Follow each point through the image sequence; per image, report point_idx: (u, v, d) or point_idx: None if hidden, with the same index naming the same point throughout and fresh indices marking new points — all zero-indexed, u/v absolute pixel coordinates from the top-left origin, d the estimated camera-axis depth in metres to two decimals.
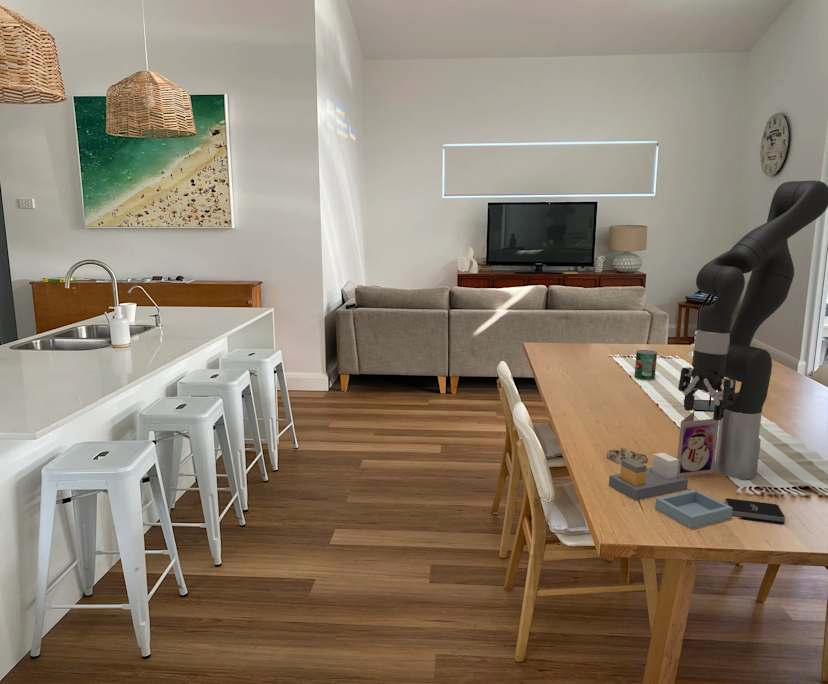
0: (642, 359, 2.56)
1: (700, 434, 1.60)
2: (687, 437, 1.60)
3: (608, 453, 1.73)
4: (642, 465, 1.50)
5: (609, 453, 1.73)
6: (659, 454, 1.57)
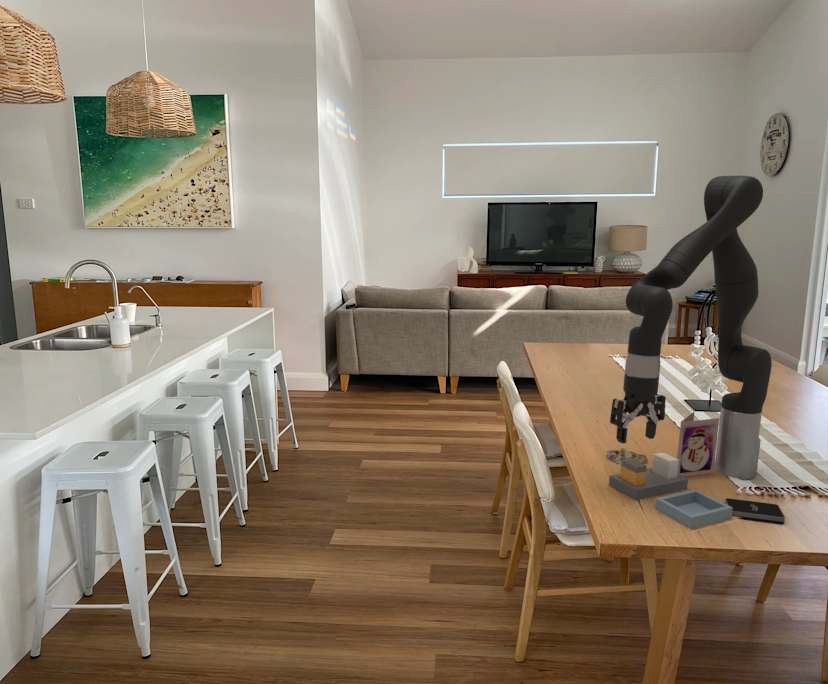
0: None
1: (700, 434, 1.60)
2: (687, 437, 1.60)
3: (608, 453, 1.73)
4: (642, 465, 1.50)
5: (609, 454, 1.72)
6: (659, 454, 1.57)
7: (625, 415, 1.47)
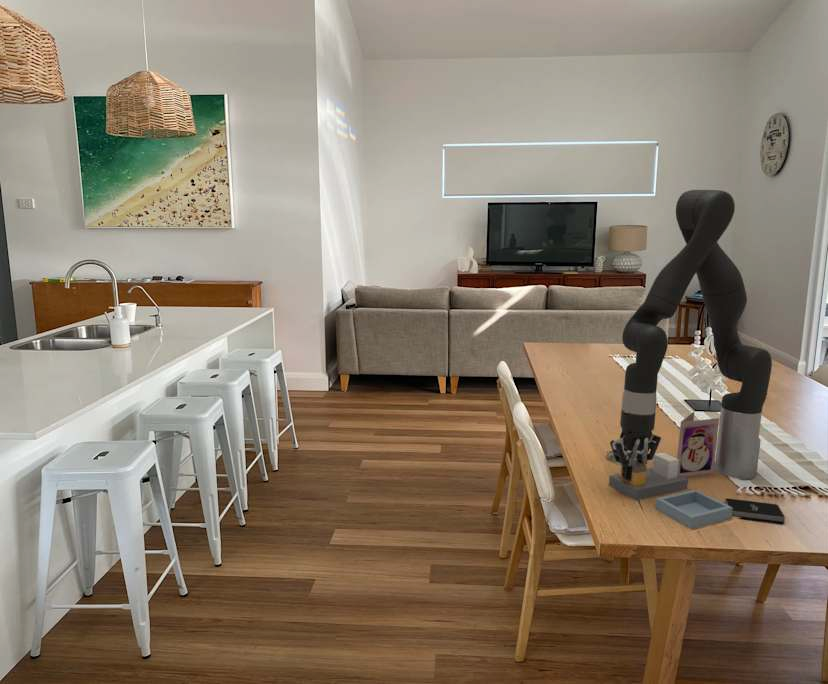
0: None
1: (700, 434, 1.60)
2: (687, 437, 1.60)
3: (608, 454, 1.73)
4: (642, 465, 1.50)
5: (608, 454, 1.72)
6: (659, 454, 1.57)
7: (627, 453, 1.50)
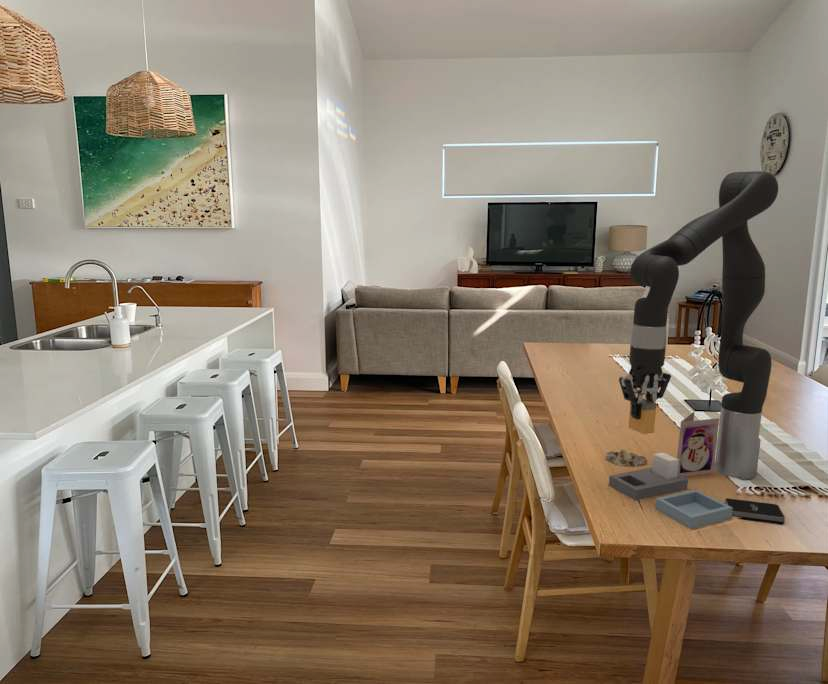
0: None
1: (700, 434, 1.60)
2: (687, 437, 1.60)
3: (607, 455, 1.72)
4: (652, 403, 1.46)
5: (608, 455, 1.72)
6: (659, 454, 1.57)
7: (636, 391, 1.46)
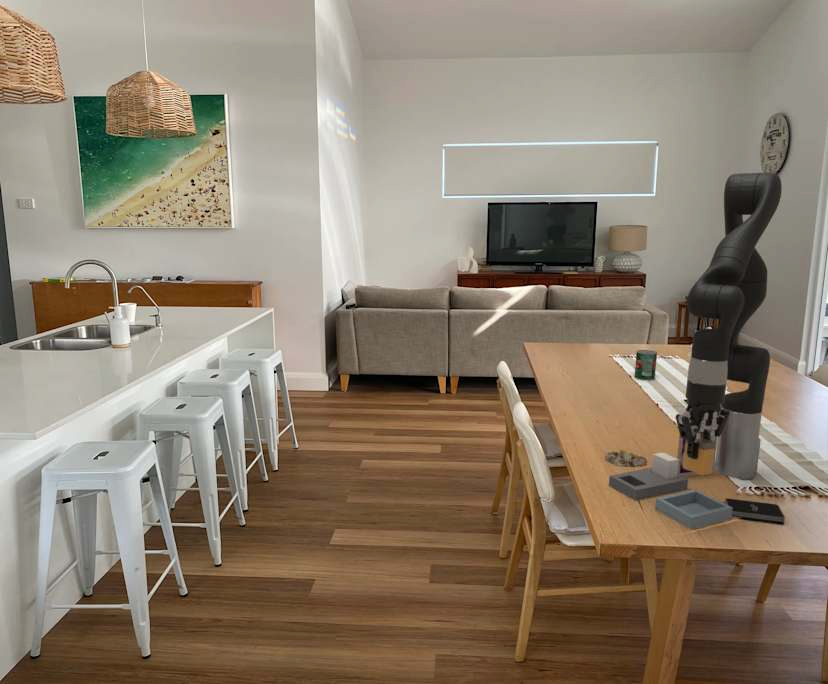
0: (642, 359, 2.56)
1: None
2: None
3: (607, 455, 1.72)
4: (710, 442, 1.36)
5: (608, 455, 1.71)
6: (659, 454, 1.57)
7: (693, 429, 1.36)
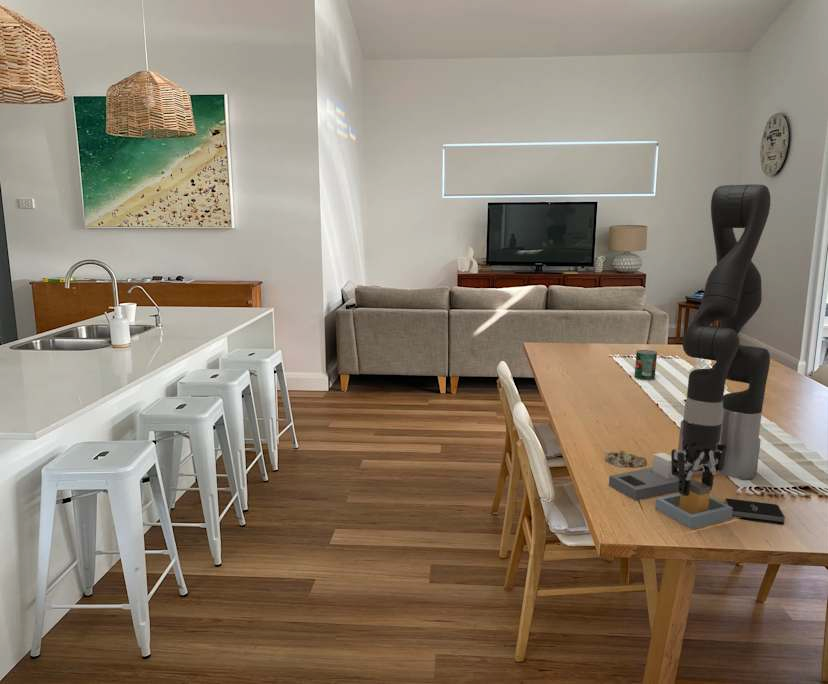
0: (642, 359, 2.56)
1: None
2: None
3: (607, 456, 1.71)
4: (705, 486, 1.38)
5: (608, 456, 1.71)
6: (659, 454, 1.57)
7: (686, 466, 1.38)
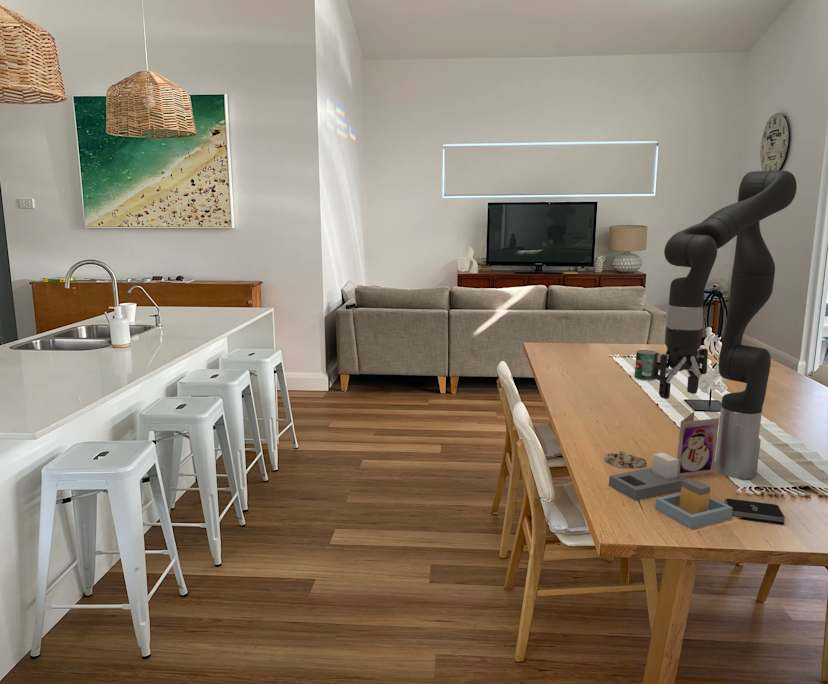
0: (642, 359, 2.56)
1: (700, 434, 1.60)
2: (687, 437, 1.60)
3: (606, 456, 1.71)
4: (705, 486, 1.38)
5: (607, 457, 1.70)
6: (659, 454, 1.57)
7: (668, 370, 1.43)
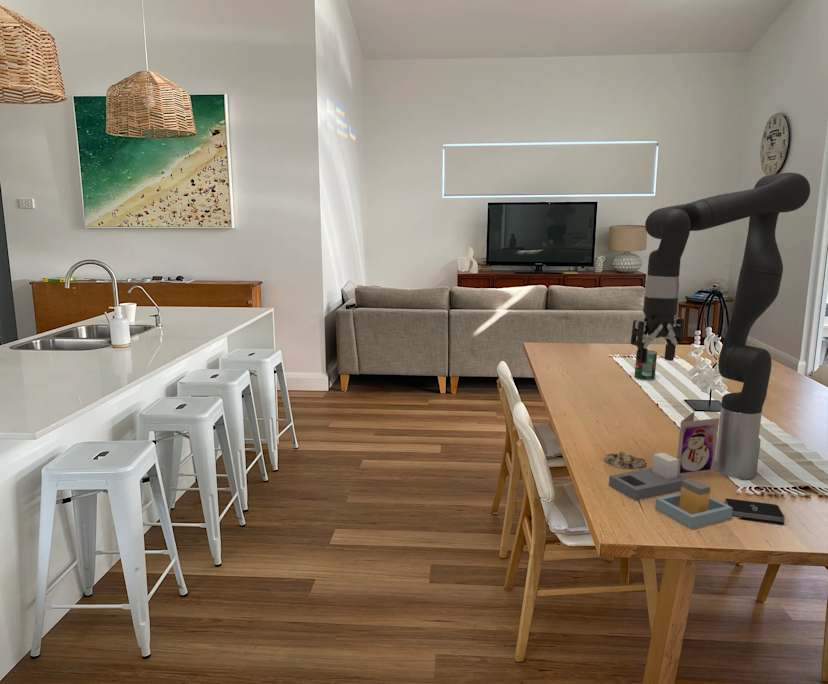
0: None
1: (700, 434, 1.60)
2: (687, 437, 1.60)
3: (606, 457, 1.70)
4: (705, 486, 1.38)
5: (607, 457, 1.70)
6: (659, 454, 1.57)
7: (645, 336, 1.52)
